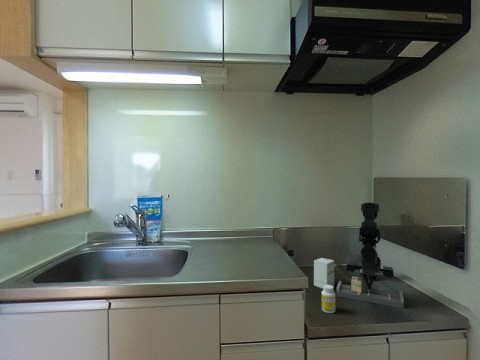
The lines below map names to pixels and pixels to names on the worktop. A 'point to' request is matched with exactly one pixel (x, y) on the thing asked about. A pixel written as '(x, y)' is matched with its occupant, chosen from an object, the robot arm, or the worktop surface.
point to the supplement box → (323, 272)
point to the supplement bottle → (328, 299)
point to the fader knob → (356, 284)
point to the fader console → (371, 295)
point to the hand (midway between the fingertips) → (369, 288)
